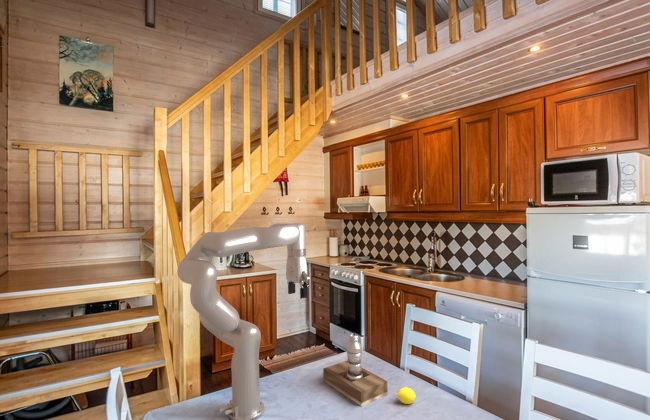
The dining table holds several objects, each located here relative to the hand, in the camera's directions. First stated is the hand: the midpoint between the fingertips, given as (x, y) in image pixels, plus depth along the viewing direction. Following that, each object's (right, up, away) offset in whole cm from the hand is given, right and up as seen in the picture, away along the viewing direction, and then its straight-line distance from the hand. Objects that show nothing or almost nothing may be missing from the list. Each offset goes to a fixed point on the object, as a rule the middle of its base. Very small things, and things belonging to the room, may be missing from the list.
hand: (297, 295), depth 144 cm
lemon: (+41, -35, -15) cm, 56 cm away
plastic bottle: (+23, -35, -4) cm, 42 cm away
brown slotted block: (+23, -36, -3) cm, 42 cm away
